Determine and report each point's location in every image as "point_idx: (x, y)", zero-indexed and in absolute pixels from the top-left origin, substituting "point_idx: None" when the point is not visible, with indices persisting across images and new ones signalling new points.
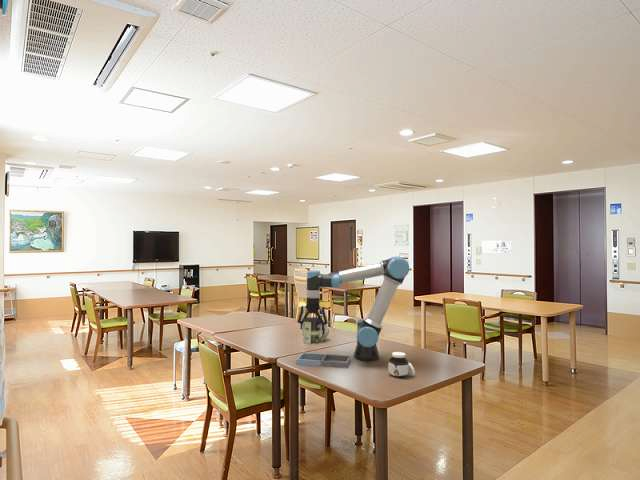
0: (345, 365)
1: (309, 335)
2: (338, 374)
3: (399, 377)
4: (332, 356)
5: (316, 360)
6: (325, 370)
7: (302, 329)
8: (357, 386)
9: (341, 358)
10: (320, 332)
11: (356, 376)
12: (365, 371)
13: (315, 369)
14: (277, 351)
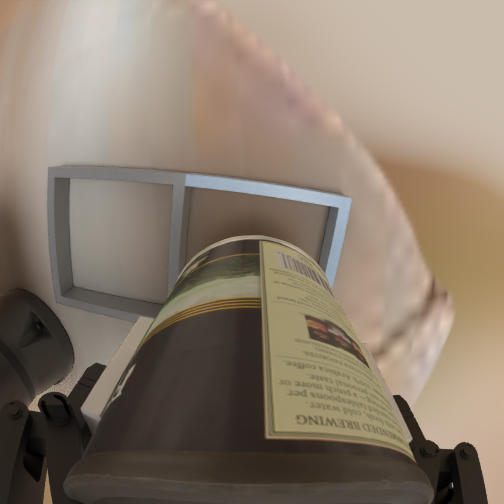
0: (63, 166)
1: (281, 274)
2: (102, 55)
3: None
4: (138, 310)
5: (214, 184)
6: (161, 97)
7: (385, 388)
8: None
9: (97, 298)
10: (135, 348)
11: (42, 61)
12: (10, 139)
13: (218, 104)
14: (411, 389)
